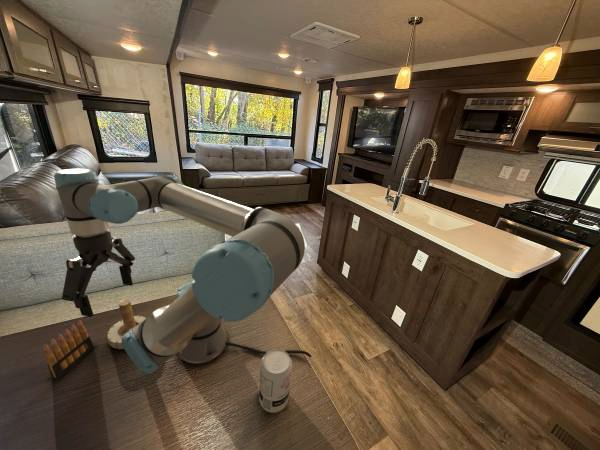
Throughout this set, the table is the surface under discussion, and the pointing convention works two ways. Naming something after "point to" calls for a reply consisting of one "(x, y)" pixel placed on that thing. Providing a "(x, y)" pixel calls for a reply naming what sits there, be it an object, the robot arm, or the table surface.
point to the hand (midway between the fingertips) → (109, 298)
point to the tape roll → (118, 329)
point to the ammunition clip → (67, 350)
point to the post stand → (127, 315)
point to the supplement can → (275, 380)
